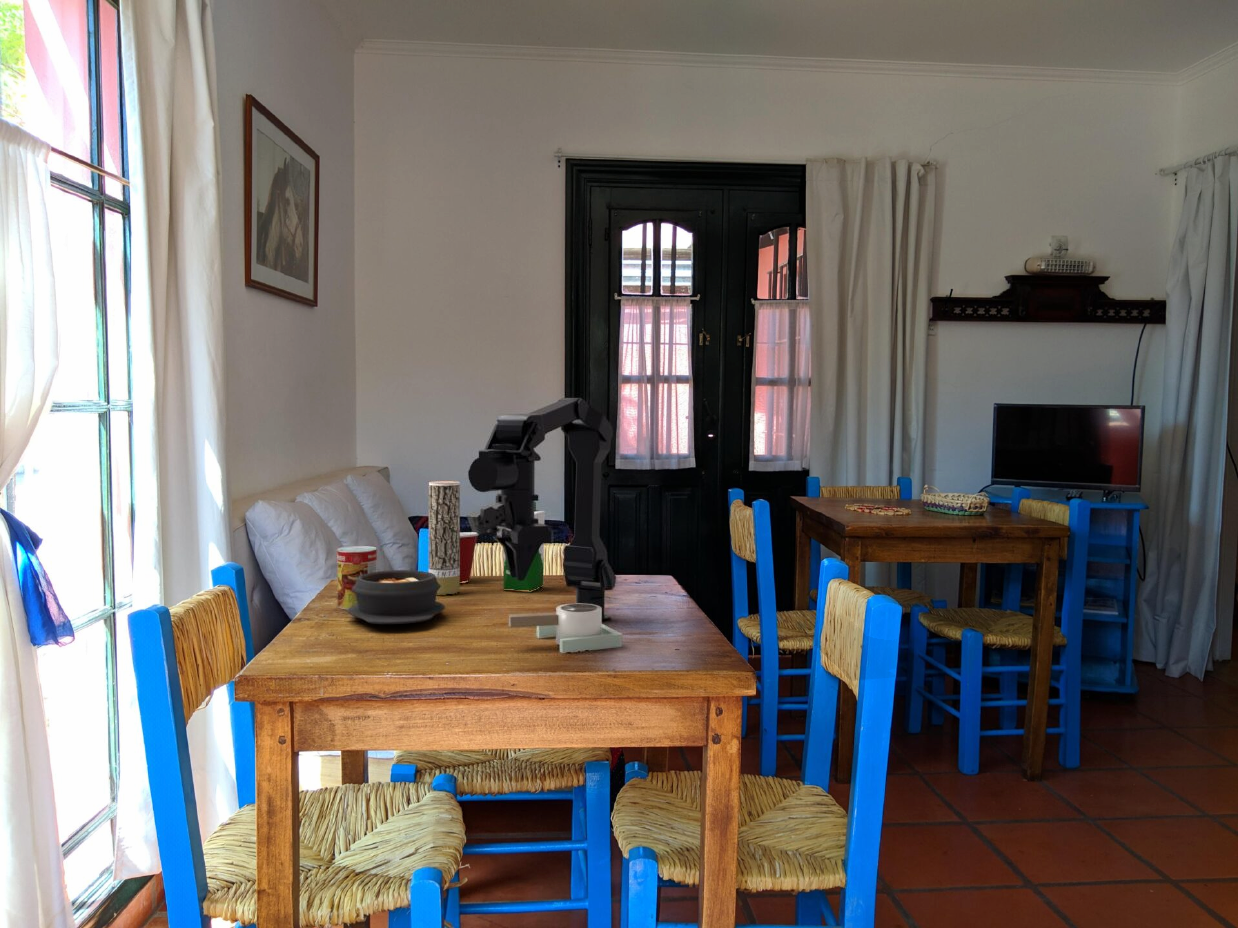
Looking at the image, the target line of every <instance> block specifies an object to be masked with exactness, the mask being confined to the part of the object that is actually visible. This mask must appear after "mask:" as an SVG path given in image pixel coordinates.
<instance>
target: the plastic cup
mask: <svg viewBox="0 0 1238 928" xmlns="http://www.w3.org/2000/svg"><path fill="white" fill-rule="evenodd" d="M479 535H480V534H477V533H476V532H472V531H471V532H470V531H469V532H460V582H462V581H467V580H469V581H470V579H471V573H472V572H471V571H472V569H473V568H472V567H473V563H474V556H475V549H476V543H477V542H478V541H477V539H478V536H479Z"/></svg>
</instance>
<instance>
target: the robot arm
mask: <svg viewBox="0 0 1238 928" xmlns="http://www.w3.org/2000/svg"><path fill="white" fill-rule="evenodd" d="M559 428H560V430H561V432H563V434H564V435H565V437H566V438H567V439H568V450H569V451H570V454H571V455H572V457H573V459H574V461H575V463H576V466H575V467H576V469H575V470H576V471H575V473H576V474H575V498H574V499H575V500H574V501H575V502H574V504H575V505H574V506H575V507H574V536H573V538H572V539H571V541H570V542H569V544H568V545H564V547H563V562H562V567H563V568H562V570H563V574H564V580H565V584H566V587H567V588H575V590H576V593H575V603H584V604H593V605H598V606H600V607H601V608H602V621H609V620H612V616H610V615H608V614H606V609H605V608H606V591H612V590H614V588H615V587H616V582H617V581H616V580H617V576H616V573H615V572H614V570H613V569H612V567H611V565H610V564H609V562H608V550H607V548H606V546H605V544H604V543H603V540H602V539H601V536H600V529H601V528H600V527H601V526H600V524H601V498H602V497H601V496H602V494H601V493H602V492H601V491H602V463H603V461H605V459H606V457H607V456H608V454H609V452H610V450H611V445H612V438H613V435H614V434H613V433H614V430H613V427H612V424H611V423H610V421H609V420H608V419H607V417H606V416H605V415H604V414H603V413H602V412H600V411H599V410H597V409H595V408H593V407H591V406H590V405H589V404H588V403H587V401H586V400H585V399H582V398H581V397H563V398H560V399H558V400H557V401H555V402H553V403H551V404H548V405H546V406H543V407H541V408H538V409H536V410H533V411H531V412H528V413H527V412H526V413H511V414H502V415H500V416H499V417H498V418H497V419H496V423H495V425H494V426H493V429H492V432H491V434H490V436H489V437H488V440H487V442H486V445H485V447H484V449H479V450H478V457H476V458H475V459H474V460H473V461H472V462H471V464H470V467H469V469H468V471H467V472H468V474H467V476H468V481H469V484H470V485H471V487H472V488H473V489H474V490H475V491H476V492H480V493H486V492H487V493H489V492H497V491H500V493H497V494H496V495H495V502H494V503H491V504H488V505H485V506H483V507H481V508H478V509H476V510H473V511H470V512H469V513H467V514H466V517H467V520H468V524H469V526H470V528H471V532H476V533H477V534H479V535H481V534H485V533H489V534H491V533H493V532H494V531H496V535H493V536H492V538H493V539H494V540H495V541H497V543H499V545H501V546H502V549H503V554H504V553H505V557H506V560H507V564H508V568H509V572H510V576H511V577H512V578H514V577H517V580H518V581H523V580H524V579H525V577H526V575H527V573H528V571H529V568H530V566H531V564H532V562H533V560H534V558H535V556H536V554H537V552H538V550H539V548H540V547H541V545H543V543H544V544H552V543H554V529H552V528H551V526H549V525H546V524H545V523H544V524H538V519H537V518H534V502H539V494H536V493H535V490H536V489H535V484H536V483H535V479H536V478H535V476H536V475H535V473H536V472H535V471H536V469H535V462H540V461H541V460H542V458H541V456H540V454H539V453H538V452H536V451H535V448H536V447H538V446H539V445H541V444H542V443H543V442H544V441H545V440H546V435H547V434H549V433H551V432H552V431H555V430H557V429H559Z"/></svg>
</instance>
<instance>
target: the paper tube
mask: <svg viewBox="0 0 1238 928" xmlns="http://www.w3.org/2000/svg"><path fill="white" fill-rule="evenodd" d="M460 489H461V485H460V481H455V480H454V481H447V480H443V481H442V480H441V481H437V480H436V481H429V482H428V572H429V573H432V574H434V575H435V576H436V579H437V582H438V583H439V584H440V585H441V587H440V588H439V589H438V591H437V595H436V596H446V595H445V594H453V595H456V594H458V593H459V592H460V586H461V584H460V533H461V530H460V527H461V526H460V523H461V521H460V520H461V513H460V512H461V511H460V510H461V509H460V506H461V503H460V502H461V501H460V500H461V497H460V496H461V491H460ZM457 592H458V593H457ZM455 593H456V594H455ZM438 594H439V595H438Z"/></svg>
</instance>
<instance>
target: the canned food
mask: <svg viewBox="0 0 1238 928" xmlns="http://www.w3.org/2000/svg"><path fill="white" fill-rule="evenodd" d="M336 550H337V551H336V552H337V555H336V557H337V558H336V561H337V563H336V565H337V570H336V571H337V579H336V580H337V583H336V585H337V607H338V608H339V609H342V610H347V611H348V609H349V608H350V607H352V606H354V605H356V604H357V600H356V595H355V593H354V592H353V590H352V587H353V586H354V585H355V584H356V581H357V578H358V577H359V576H361V575H364V574H368V573H373V572H378V571H377V570H378V569H377V568H378V567H377V566H378V562H377V559H378V558H377V554H378V553H377V551H378V550H377V547H375V546H371V545H370V546H369V545H368V546H367V545H355V546H354V545H353V546H344V547H338V548H337V549H336Z"/></svg>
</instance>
